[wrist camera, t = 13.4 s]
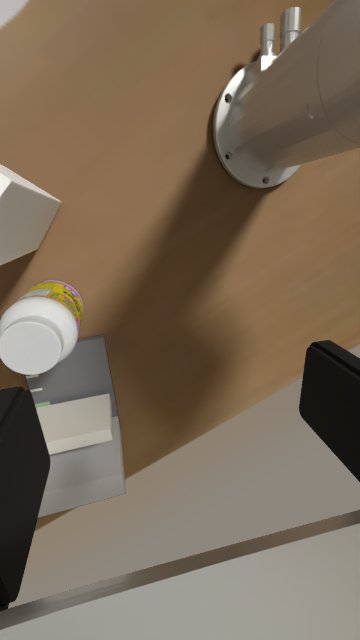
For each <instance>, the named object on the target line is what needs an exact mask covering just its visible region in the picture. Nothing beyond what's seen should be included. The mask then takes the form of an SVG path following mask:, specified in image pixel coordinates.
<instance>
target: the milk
mask: <svg viewBox="0 0 360 640" xmlns="http://www.w3.org/2000/svg"><path fill="white" fill-rule="evenodd" d="M61 203H62V202H61V201H59V200H58V199H56V198H54V197H53V196H51V195H50V194H48V193H46V192H45V191H43V190H42V189H40V188H38V187H37V186H35V185H33V184H32V183H30V182H29V181H27V180H25V179H24V178H22V177H21V176H19V175H17V174H16V173H14V172H13V171H11V170H9V169H8V168H6V167H4V166H2V165H0V266H1V265H3V264H5V263H7V262H10V261H12V260H14V259H17V258H19V257H21V256H23V255H26V254H28V253H30V252H33V251H35V250H37V249H38V248H39V246H40V244H41V242H42V240H43V238H44V236H45V234H46V232H47V230H48V229H49V227H50V225H51V223H52V221H53V219H54V217H55V215H56V213H57V211H58V209H59V207H60V205H61Z"/></svg>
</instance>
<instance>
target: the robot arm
mask: <svg viewBox="0 0 360 640" xmlns="http://www.w3.org/2000/svg"><path fill="white" fill-rule="evenodd" d="M300 18H301V9H300V8H299V7H291V8H289V9H286V10H285V11H284V12H282V14H281V16H280V52H279V53H278V54H277V55H275V53H273V43H274V29H275V26H274V24H272V23H268V24H265V25H263V26H262V27H261V28H260V56H259V57H258V61H255V62H252V63H250V64H248V65H246V66H244V67H243V68H242V69H240V70H239V71H238V72H237V73H236V74H235V75H234V76H233V77H232V78H231V79H230V80H229V82H228V83H227V84H226V86H225V87H224V88H223V90H222V92H221V94H220V96H219V99H218V101H217V104H216V108H215V111H214V118H213V139H214V144H215V149H216V152H217V155H218V157H219V160H220V161H221V163H222V165H223V167H224V169H225V170H226V171H227V172H228V173H229V174H230V176H231V177H233V178H234V179H235V180H236V181H238V182H239V183H241V184H243V185H245V186H248V187H253V188H267V187H272V186H275V185H278V184H281V183H282V182H284V181H285V180H287V179H289V178H290V177H291V176H292V175H293V174H294V173H295V172H296V171H297V170H298V169H299V167H300V166H301V165H302V164H304V163H307V162H311V161H314V160H318V159H321V158H325V157H328V156H332V155H335V154H339V153H342V152H346V151H349V150H353V149H356V148H360V0H335V1H334V2H333V3H332V4H331V5H330V6H329V7H328V8H327V9H326V10H325V11H324V12H323V13H322V14H321V15H320V16H319V17H318V18H316V19H315V20H314V21H313V22H312V23H311V24H310V25H309V26H308V27H307V28H306V29H305V30H304V31H303V32H302V33H301V34H300V35H299V33H300ZM225 99H226V100H227V103H226V102H225ZM225 155H227V157H228V158H227V159H226V157H225ZM262 180H263V181H264V182H263V181H262ZM299 411H300V415H301V416H302V418H303V419H304V420H305V421H306V423H307V424H308V425H309V426H310V427H311V428H312V429H313V430H314V432H316V434H317V435H318V436H319V437H320V438H321V439H322V440H323V441H324V443H325V444H326V445H327V446H328V447H329V448H330V449H331V451H332V452H333V453H334V454H335V455H336V456H337V457H338V458H339V459H340V461H341V462H342V463H343V464H344V465H345V466H346V467H347V468H348V470H349V471H351V473H352V474H353V475H354V476H355V477H356V478H357V479H358V481H359V482H360V358H358V357H356V356H355V355H353V354H351V353H350V352H348V351H347V350H345V349H343V348H342V347H340V346H338V345H337V344H335V343H333V342H332V341H330V340H326V341H319V342H313V343H312V344H311V345H310V347H308V348H307V351H306V358H305V365H304V373H303V381H302V389H301V397H300V404H299ZM49 470H50V455H49V452H48V448H47V445H46V441H45V438H44V434H43V431H42V427H41V424H40V421H39V417H38V414H37V410H36V407H35V403H34V400H33V397H32V393H31V392H30V391H29V390H27V391H25V390H24V388H23V387H15V388H8V389H2V390H0V640H360V510H358V511H354V512H351V513H346V514H343V515H339V516H335V517H331V518H328V519H324V520H321V521H317V522H313V523H310V524H306V525H302V526H299V527H295V528H291V529H287V530H284V531H280V532H276V533H273V534H269V535H265V536H262V537H258V538H255V539H251V540H247V541H243V542H240V543H236V544H232V545H229V546H226V547H221V548H218V549H214V550H211V551H207V552H204V553H200V554H197V555H193V556H189V557H186V558H182V559H179V560H175V561H171V562H168V563H164V564H160V565H157V566H153V567H150V568H146V569H143V570H139V571H135V572H132V573H128V574H125V575H121V576H118V577H114V578H111V579H107V580H104V581H100V582H96V583H93V584H90V585H86V586H83V587H80V588H76V589H73V590H69V591H66V592H63V593H59V594H56V595H53V596H49V597H46V598H42V599H40V600H36V601H32V602H29V603H26V604H22V605H19V606H16V607H13V608H9V609H8V606H9V603H10V602H14V601H15V600H16V598H17V596H18V593H19V590H20V586H21V582H22V578H23V574H24V570H25V566H26V562H27V558H28V554H29V550H30V546H31V542H32V538H33V534H34V530H35V526H36V522H37V518H38V514H39V510H40V506H41V502H42V498H43V494H44V490H45V486H46V482H47V478H48V474H49Z"/></svg>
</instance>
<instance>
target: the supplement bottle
mask: <svg viewBox="0 0 360 640" xmlns="http://www.w3.org/2000/svg"><path fill="white" fill-rule="evenodd" d="M83 311H84V306H83V302H82V299H81V297H80V295H79V294H78V292H77V291H76V290H75V289H74V288H72V287H71V286H70V285H68V284H66V283H63V282H60V281H44V282H41V283H38V284H36V285H35V286H33V287H32V288H31V289H29V290H28V291H27V292H26V293H25V294H24V295H23V296H22V297H21V298H20V299H18V300H17V301H16V302H15V303H14V304H13V305H12V306H11V307H9V309H7V311H6V312H5V313H4V314H3V316H2V318H1V320H0V358H1V360H2V361H3V363H4V364H5V365H6V366H7V367H8V368H10V369H11V370H13V371H15V372H18V373H21V374H25V375H36V374H41V373H44V372H46V371H48V370H50V369H51V368H52V367H54V366H55V365H56V363H58V362H60V361H62V360H63V359H65V358H66V357H67V356H68V355H69V354H70V353H71V352H72V350H73V349H74V347H75V344H76V342H77V338H78V333H79V329H80V325H81V321H82V317H83Z"/></svg>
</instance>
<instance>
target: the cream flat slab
mask: <svg viewBox="0 0 360 640" xmlns="http://www.w3.org/2000/svg"><path fill="white" fill-rule="evenodd" d="M36 410H37V414H38V417H39V421H40V424H41V427H42V431H43V434H44V438H45V441H46V445H47V448H48V452H49V455H50V454H55V453H59V452H63V451H68V450H72V449H76V448H80V447H85V446H89V445H93V444H98V443H102V442H106V441H111V440H113V436H112V411H111V400H110V394H109V393H108V394H103V395H98V396H93V397H88V398H83V399H78V400H73V401H68V402H63V403H58V404H53V405H48V406H43V407H38V408H36Z"/></svg>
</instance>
